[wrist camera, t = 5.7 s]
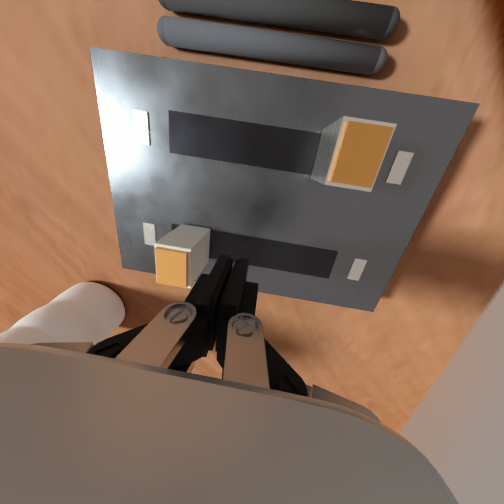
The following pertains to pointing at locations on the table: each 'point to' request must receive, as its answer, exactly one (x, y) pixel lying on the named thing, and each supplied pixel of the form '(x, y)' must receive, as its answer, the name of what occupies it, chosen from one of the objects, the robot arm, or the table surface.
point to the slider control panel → (272, 170)
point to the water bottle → (71, 317)
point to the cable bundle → (285, 44)
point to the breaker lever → (182, 255)
